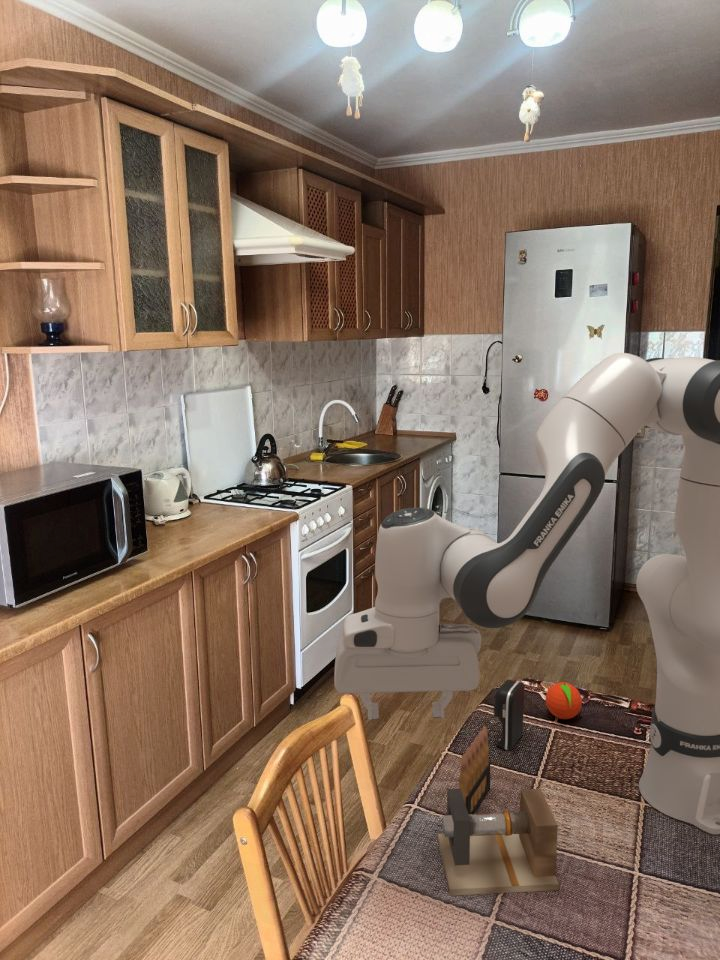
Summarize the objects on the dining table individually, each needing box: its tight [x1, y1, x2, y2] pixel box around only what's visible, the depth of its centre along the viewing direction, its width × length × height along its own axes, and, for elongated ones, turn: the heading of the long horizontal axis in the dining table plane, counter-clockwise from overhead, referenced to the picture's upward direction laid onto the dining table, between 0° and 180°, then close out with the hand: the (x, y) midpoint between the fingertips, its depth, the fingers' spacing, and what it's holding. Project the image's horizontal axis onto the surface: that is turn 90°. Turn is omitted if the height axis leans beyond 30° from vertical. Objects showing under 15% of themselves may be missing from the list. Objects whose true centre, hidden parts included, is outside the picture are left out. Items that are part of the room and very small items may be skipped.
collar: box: [446, 787, 470, 865], centre depth 102 cm, size 2×7×7 cm, turn 3°
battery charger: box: [493, 679, 525, 751], centre depth 133 cm, size 7×4×11 cm, turn 148°
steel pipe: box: [442, 811, 530, 837], centre depth 102 cm, size 14×3×3 cm, turn 93°
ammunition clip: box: [458, 725, 491, 814], centre depth 115 cm, size 11×2×12 cm, turn 150°
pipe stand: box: [437, 788, 560, 897], centre depth 103 cm, size 15×11×9 cm
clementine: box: [545, 681, 583, 720], centre depth 141 cm, size 8×7×7 cm
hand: (405, 717), depth 102 cm, fingers open, 8 cm apart
